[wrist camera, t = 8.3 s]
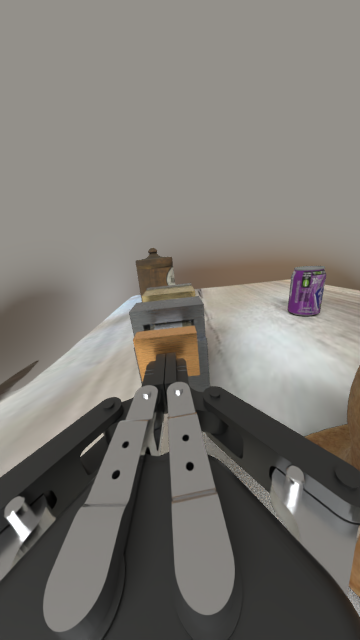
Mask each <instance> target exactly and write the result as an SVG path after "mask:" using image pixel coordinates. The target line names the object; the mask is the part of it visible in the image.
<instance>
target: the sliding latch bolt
mask: <svg viewBox="0 0 360 640" xmlns="http://www.w3.org/2000/svg"><path fill="white" fill-rule="evenodd" d="M133 342H134V346H135V351H136V355H137V360H138V365H139V369H140V374H141V378H142V381H143V379H144V375H145V371H146V366H147V365H148V364H149V362H150V361H155V360H156V355H157V354H164V353H173V352H176V358H184V360H185V361H186V365H187V372H188V376H196V375H200V369H199V356H198V343H197V332H196V329H195V326H186V327H182V321H174V322H165V323H156V324H155V328H154V330H150V331H141V332H137V333H136V335H135V337H134V339H133Z"/></svg>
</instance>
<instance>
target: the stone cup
mask: <svg viewBox="0 0 360 640" xmlns="http://www.w3.org/2000/svg"><path fill="white" fill-rule="evenodd" d="M347 422H348V424H345V425H341V426H337V427H333V428H329V429H325V430H323V431H320V432H316V433H312V434H310V435H307V436H305V438H307V439H308V440H310V441H312V442H314V443H315V444H317V445H319V446H320V447H322V448H324V449H325V450H327V451H329V452H330V453H332V454H334V455H335V456H337V457H339V458H341V459H342V460H344V461H346V462H347V463H349V464H351V465H352V466H354V467H355V468H356V469H358V470H359V471H360V366H359V368H358V370H357V372H356V375H355V378H354V380H353V383H352V386H351V390H350V394H349V399H348V409H347ZM349 587H350V588H351V589H352V590H353V591H354V592H355V593H356V594H357V595H358V596H359V597H360V537H359V539H358V541H357V543H356V545H355V551H354V557H353V563H352V569H351V575H350V581H349Z"/></svg>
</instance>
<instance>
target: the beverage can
mask: <svg viewBox="0 0 360 640" xmlns="http://www.w3.org/2000/svg"><path fill="white" fill-rule="evenodd" d="M324 269H325V267H324V266H305V267H297V268H294V270H295V271H294V272H293V274H292V276H291V285H290V293H289V302H288V311H289V312H291V313H293V314H294V315H298V316H312V315H315V314H318V313H319V312H320V307H321V302H322V296H323V290H324V285H325V279H326V273H325V270H324Z"/></svg>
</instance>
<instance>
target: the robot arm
mask: <svg viewBox="0 0 360 640" xmlns="http://www.w3.org/2000/svg"><path fill="white" fill-rule="evenodd" d="M166 413H168V435H169V452H168V453H166V454H163V455H161V456H160V451H161V444H162V437H163V429H164V422H163V421H164V414H166ZM201 431H203V432H206V434H207V436H208V437H209V438H210V439H211V440H212V441H213V442H214V443H215V444H216V445H217V446H219V447H220V448H221V449H222V450H223V451H224V452H225V453H226V454H227V455H228V456H230V457H231V458H232V459H233V460H234V461H235V462H236V463H237V464H238V465H239V466H241V467H242V468H243V469H244V470H245V471H246V472H247V473H248V474H249V475H250V476H252V477H253V478H254V479H255V480H256V481H257V482H258V483H259V484H260V485H261V486H263V487H264V488H265V489H266V490H267V491H268V492H269V493H270V501H271V504H272V507H273V509H274V511H275V513H276V514H277V516H278V517H279V518H280V519H281V521H282V522H283V523H284V524H285V526H286V527H287V529H288V530H289V531H288V530H287V529H286V528H285V527H284V525H283V524H282V523H281V522H280V521H279V520H278V519H277V518H276V517H275V516H274V515H273V514H272V513H271V512H270V511H269V510H268V509H267V508H266V507H265V506H264V505H263V504H262V503H261V502H260V501H259V500H258V499H257V497H256V496H255V495H254V494H253V493H252V492H251V491H250V490H249V489H248V488H247V487H246V486H245V485H244V484H243V483H242V482H241V481H240V480H239V479H238V478H237V477H236V476H235V475H234V474H233V473H232V472H231V470H230V469H229V468H228V467H227V466H226V465H224V464H223V463H222V462H221V461H219V460H218V459H216V458H214V457H212V456H210V455H207V452H206V448H205V444H204V440H203V436H202V432H201ZM102 433H103V434H104V436H103V437H102V438H101V439H100V440H99V441H98V442H97V443H96V444H94V445H93V446H92V447H91V448H90V449H89V450H88V451H87V452H86V453H85V454H84V455H82V456H81V457H80V455H81V453H82V451H83V450H84V449H85V448H86V447H87V446H88V445H89V444H90V443H92V442H93V441H94V440H95V439H96V438H97V437H98V436H99V435H101V434H102ZM359 537H360V471H359V470H358V469H356V468H355V467H354V466H352V465H351V464H349V463H347V462H346V461H344V460H342V459H341V458H339V457H337V456H335V455H334V454H332V453H330V452H329V451H327V450H325V449H324V448H322V447H320V446H319V445H317V444H315V443H314V442H312V441H310V440H308V439H307V438H305V437H303V436H302V435H300V434H298V433H297V432H295V431H293V430H292V429H290V428H288V427H287V426H285V425H283V424H281V423H280V422H278V421H276V420H275V419H273V418H271V417H270V416H268V415H266V414H265V413H263V412H261V411H260V410H258V409H256V408H254V407H253V406H251V405H249V404H248V403H246V402H244V401H243V400H241V399H239V398H238V397H236V396H234V395H233V394H231V393H229V392H227V391H226V390H224V389H222V388H220V387H216V386H213V387H209V388H207V389H205V390H204V392H199V391H195V390H193V389H192V388H191V387H190V385H189V380H188V372H187V365H186V361H185V360H184V358H176V352H173V353H164V354H157V355H156V360H155V361H150V362H149V364H148V365H147V366H146V371H145V375H144V379H143V383H142V387H141V388H140V389H138V390H137V392H136V393H135V396H134V398H132V399H129V400H127V401H124V402H121V400H120V399H119V398H117V397H112V398H108V399H106V400H104V401H102V402H101V403H100V404H98V405H97V406H96V407H94V408H93V409H92V410H90V411H89V412H88V413H86V414H85V415H84V416H82V417H81V418H80V419H78V420H77V421H76V422H74V423H73V424H72V425H70V426H69V427H67V428H66V429H65V430H63V431H62V432H61V433H59V434H58V435H57V436H55V437H54V438H53V439H51V440H50V441H49V442H47V443H46V444H45V445H43V446H42V447H41V448H39V449H38V450H37V451H35V452H34V453H33V454H31V455H30V456H29V457H27V458H26V459H25V460H23V461H22V462H21V463H19V464H18V465H17V466H15V467H14V468H12V469H11V470H10V471H8V472H7V473H6V474H4V475H3V476H2V477H0V640H360V617H359V615H358V613H357V612H356V610H355V608H354V607H353V605H352V603H351V602H350V600H349V599H348V597H347V593H348V587H349V581H350V575H351V569H352V563H353V557H354V551H355V545H356V543H357V541H358V539H359Z"/></svg>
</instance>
